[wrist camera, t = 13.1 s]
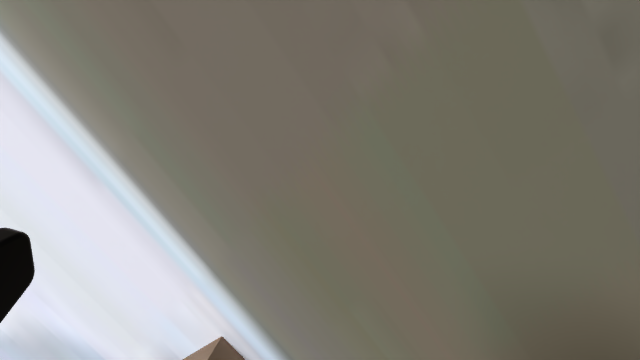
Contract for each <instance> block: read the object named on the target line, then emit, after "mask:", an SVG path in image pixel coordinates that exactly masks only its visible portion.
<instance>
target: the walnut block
mask: <svg viewBox="0 0 640 360" xmlns="http://www.w3.org/2000/svg"><path fill="white" fill-rule="evenodd" d="M183 360H245V359H244V358H243V357H242V356H241V355H240V354H239V353H238V352H237V351H236V350H235V349H234V348H233V347H232V346H231V345H230V344H229V343H228V342H227V341H226V340H225V339H224V338H223V337H220V338H218V339H216V340H215V341H213V342H211V343H210V344H208V345H206V346H205V347H203V348H201V349H200V350H198V351H196V352H195V353H193V354H191V355H190V356H188V357H186V358H185V359H183Z"/></svg>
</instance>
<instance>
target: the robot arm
mask: <svg viewBox="0 0 640 360" xmlns="http://www.w3.org/2000/svg"><path fill="white" fill-rule="evenodd" d="M34 271H35V270H34V262H33V256H32V249H31V242H30V238H29V237H28V235H27V234H25V233H23V232H20V231H17V230H13V229H10V228H0V323H1V321H2V320H3V319H4V318H5V316H6V315H7V314H8V312H9V311H10V310H11V308H12V307H13V306H14V305H15V303H16V302H17V301H18V299H19V298H20V297H21V295H22V294H23V293H24V291H25V290H26V289H27V288H28V286H29V285H30V283H31V281H32V279H33V277H34Z"/></svg>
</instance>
